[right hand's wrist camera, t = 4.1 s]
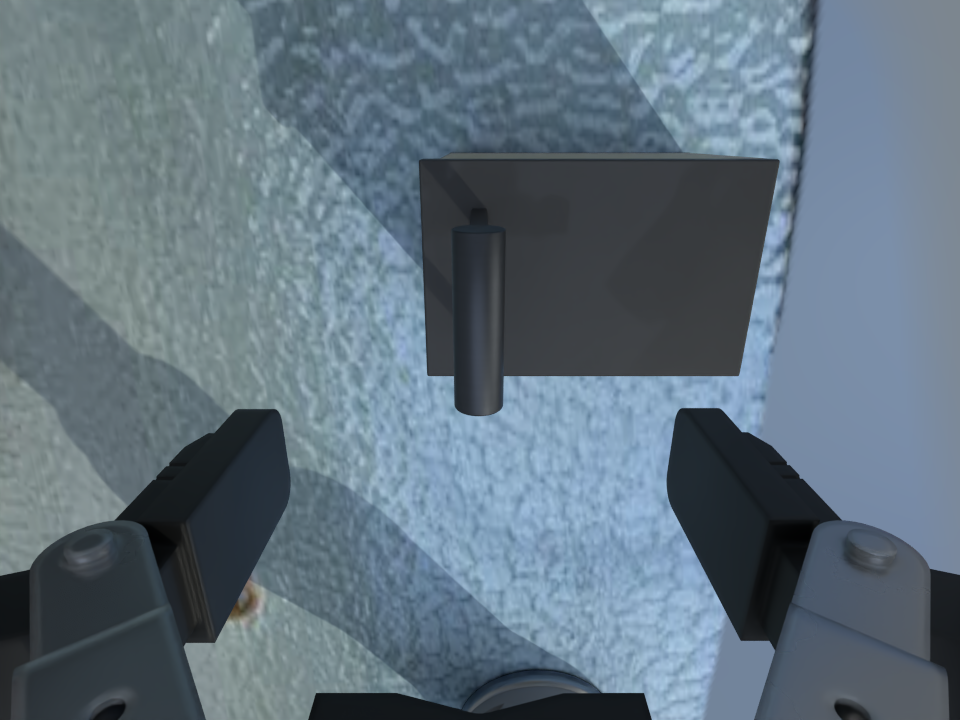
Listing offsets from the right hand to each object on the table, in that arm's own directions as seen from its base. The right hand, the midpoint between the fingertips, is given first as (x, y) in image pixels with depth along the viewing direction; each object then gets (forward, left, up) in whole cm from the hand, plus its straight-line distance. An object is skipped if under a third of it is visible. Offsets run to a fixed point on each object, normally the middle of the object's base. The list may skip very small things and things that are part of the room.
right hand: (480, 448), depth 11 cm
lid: (0, +5, -17) cm, 17 cm away
